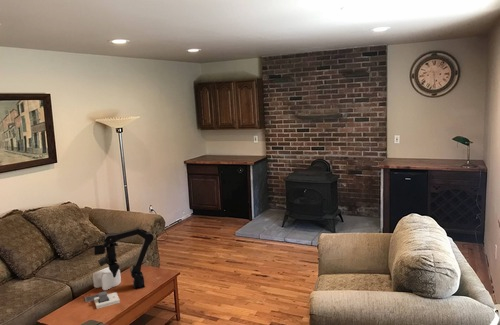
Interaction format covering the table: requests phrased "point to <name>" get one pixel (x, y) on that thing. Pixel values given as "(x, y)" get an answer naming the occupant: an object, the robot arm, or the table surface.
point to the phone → (91, 298)
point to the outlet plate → (111, 298)
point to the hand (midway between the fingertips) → (113, 274)
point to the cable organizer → (106, 279)
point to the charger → (103, 297)
